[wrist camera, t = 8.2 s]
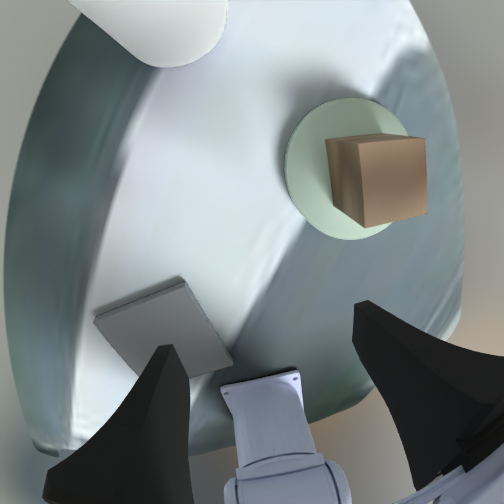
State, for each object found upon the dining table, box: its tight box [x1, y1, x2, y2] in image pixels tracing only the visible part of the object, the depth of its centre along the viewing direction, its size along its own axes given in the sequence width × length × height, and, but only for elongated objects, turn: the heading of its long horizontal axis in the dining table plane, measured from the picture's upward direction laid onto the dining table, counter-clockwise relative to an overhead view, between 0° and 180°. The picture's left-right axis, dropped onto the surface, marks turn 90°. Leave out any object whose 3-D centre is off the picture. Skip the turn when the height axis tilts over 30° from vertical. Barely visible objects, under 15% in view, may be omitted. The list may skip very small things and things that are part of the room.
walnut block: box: [325, 133, 427, 229], centre depth 15 cm, size 4×4×4 cm
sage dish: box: [284, 98, 408, 240], centre depth 18 cm, size 10×10×1 cm
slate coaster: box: [93, 281, 234, 378], centre depth 22 cm, size 9×9×1 cm
